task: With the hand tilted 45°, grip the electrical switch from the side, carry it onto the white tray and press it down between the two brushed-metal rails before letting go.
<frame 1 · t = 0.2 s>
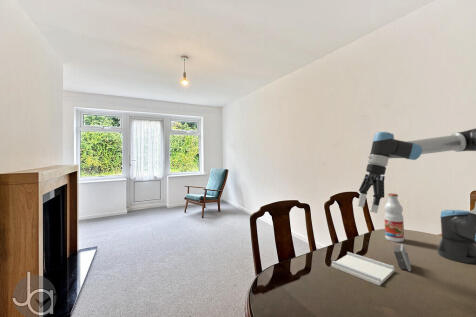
hand: (366, 209, 100), 26 cm above the table, tool tilted 15°, fingers open, 13 cm apart
white tray: (362, 268, 97), on the table
electrical switch: (403, 267, 98), on the table
fruit juice: (394, 239, 131), on the table
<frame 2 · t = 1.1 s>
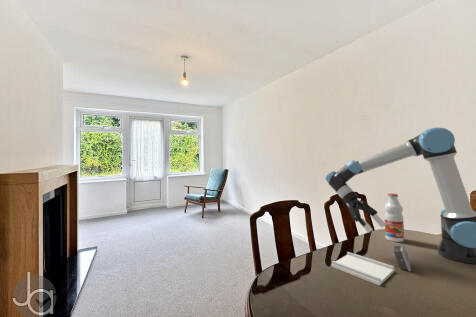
hand: (377, 228, 107), 15 cm above the table, tool tilted 45°, fingers open, 13 cm apart
nothing on the table moved.
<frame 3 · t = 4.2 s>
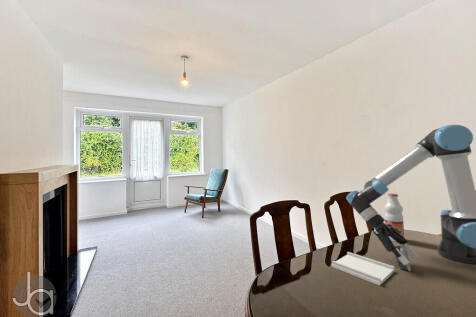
hand: (411, 260, 95), 4 cm above the table, tool tilted 45°, fingers closed on electrical switch, 9 cm apart
electrical switch: (403, 267, 98), on the table, touching gripper
everything else where it was.
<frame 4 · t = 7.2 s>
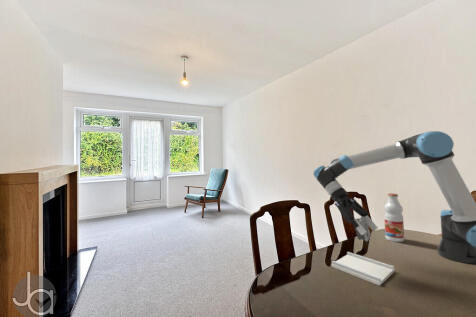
hand: (370, 231, 95), 18 cm above the table, tool tilted 45°, fingers closed on electrical switch, 9 cm apart
electrical switch: (362, 238, 98), point 14 cm above the table, touching gripper
everything else where it was.
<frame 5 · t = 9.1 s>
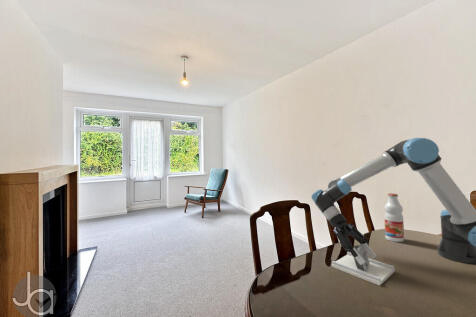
hand: (368, 260, 94), 5 cm above the table, tool tilted 45°, fingers closed on electrical switch, 9 cm apart
electrical switch: (361, 266, 97), point 1 cm above the table, touching gripper, white tray
everything else where it was.
when the fingers open (5 cm above the table, at t = 10.4 s): electrical switch stays where it is, resting on white tray.
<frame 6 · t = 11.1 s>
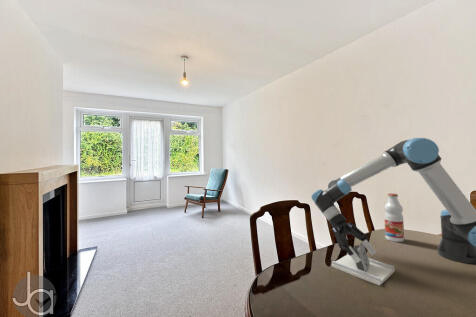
hand: (366, 257, 95), 6 cm above the table, tool tilted 45°, fingers open, 13 cm apart
electrical switch: (361, 266, 97), point 1 cm above the table, touching white tray
everything else where it was.
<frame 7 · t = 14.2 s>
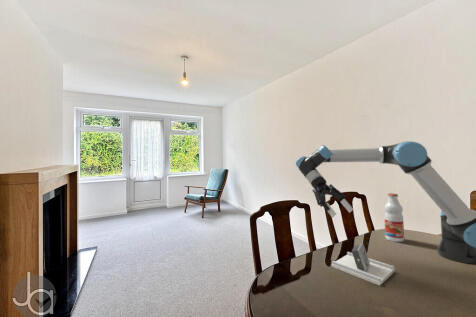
hand: (343, 213, 103), 24 cm above the table, tool tilted 45°, fingers open, 13 cm apart
nothing on the table moved.
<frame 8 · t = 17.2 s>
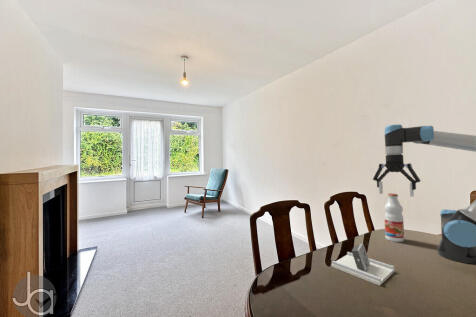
hand: (395, 194, 112), 31 cm above the table, tool pointing down, fingers open, 13 cm apart
nothing on the table moved.
at the end: electrical switch 0.1 cm off-centre on the white tray, point 1.0 cm above the white tray's base; electrical switch tilted 0°; the gripper is holding nothing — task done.
